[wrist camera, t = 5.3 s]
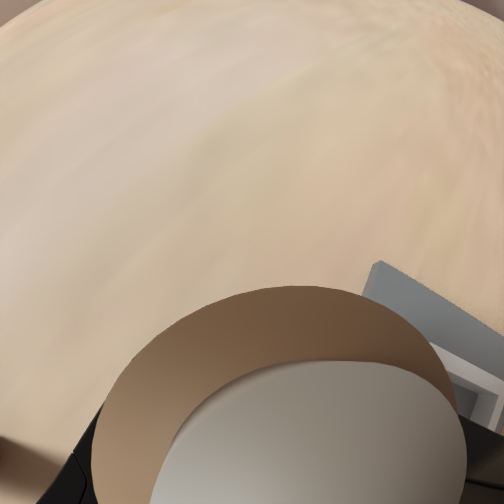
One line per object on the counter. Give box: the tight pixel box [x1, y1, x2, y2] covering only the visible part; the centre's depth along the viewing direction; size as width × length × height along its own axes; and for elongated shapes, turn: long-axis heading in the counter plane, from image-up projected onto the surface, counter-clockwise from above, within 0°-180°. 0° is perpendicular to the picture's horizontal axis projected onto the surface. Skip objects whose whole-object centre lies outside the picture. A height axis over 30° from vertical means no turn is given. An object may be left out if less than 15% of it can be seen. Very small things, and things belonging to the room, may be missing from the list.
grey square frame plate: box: [362, 261, 504, 434], centre depth 15 cm, size 16×16×3 cm
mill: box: [91, 286, 467, 504], centre depth 8 cm, size 5×5×13 cm
